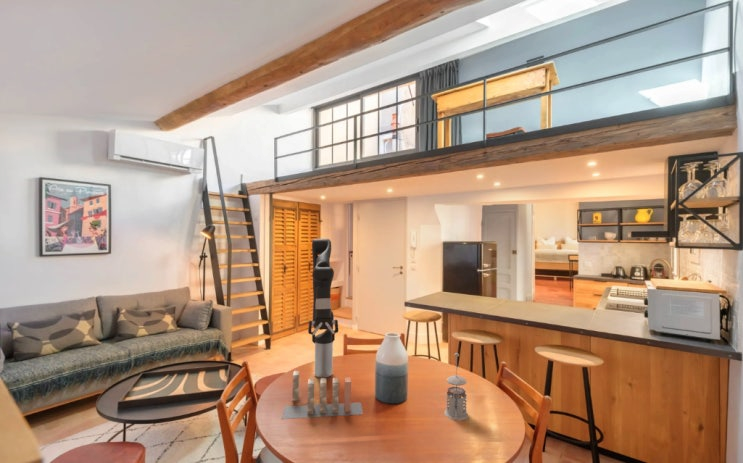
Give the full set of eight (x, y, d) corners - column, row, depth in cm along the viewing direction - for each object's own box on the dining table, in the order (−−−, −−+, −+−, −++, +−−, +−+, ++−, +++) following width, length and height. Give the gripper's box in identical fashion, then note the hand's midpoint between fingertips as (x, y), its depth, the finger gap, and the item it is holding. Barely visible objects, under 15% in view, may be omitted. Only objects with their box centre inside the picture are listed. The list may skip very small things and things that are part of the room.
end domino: (344, 411, 140) (345, 382, 140) (344, 406, 144) (344, 377, 145) (350, 411, 140) (351, 381, 140) (349, 405, 145) (350, 377, 145)
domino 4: (332, 412, 139) (332, 382, 139) (332, 406, 144) (332, 378, 144) (338, 412, 139) (338, 382, 140) (337, 406, 144) (338, 377, 144)
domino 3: (319, 413, 138) (320, 383, 139) (320, 407, 143) (320, 378, 143) (325, 413, 139) (326, 383, 139) (325, 407, 143) (326, 378, 144)
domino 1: (292, 403, 149) (292, 375, 149) (293, 398, 153) (293, 371, 154) (298, 403, 149) (298, 375, 149) (298, 397, 154) (299, 370, 154)
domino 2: (307, 414, 138) (307, 383, 138) (307, 408, 142) (308, 379, 143) (313, 413, 138) (313, 383, 138) (313, 407, 143) (314, 378, 143)
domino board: (284, 408, 144) (284, 406, 144) (360, 404, 148) (360, 402, 148) (281, 421, 134) (281, 418, 134) (363, 416, 138) (363, 414, 138)
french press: (468, 410, 144) (469, 350, 145) (468, 424, 133) (469, 359, 134) (444, 406, 147) (445, 348, 148) (443, 420, 136) (443, 357, 136)
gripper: (336, 307, 173) (336, 340, 170) (307, 308, 169) (307, 342, 166) (339, 307, 166) (339, 342, 163) (309, 308, 162) (308, 344, 159)
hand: (323, 342), depth 164 cm, fingers open, 8 cm apart
